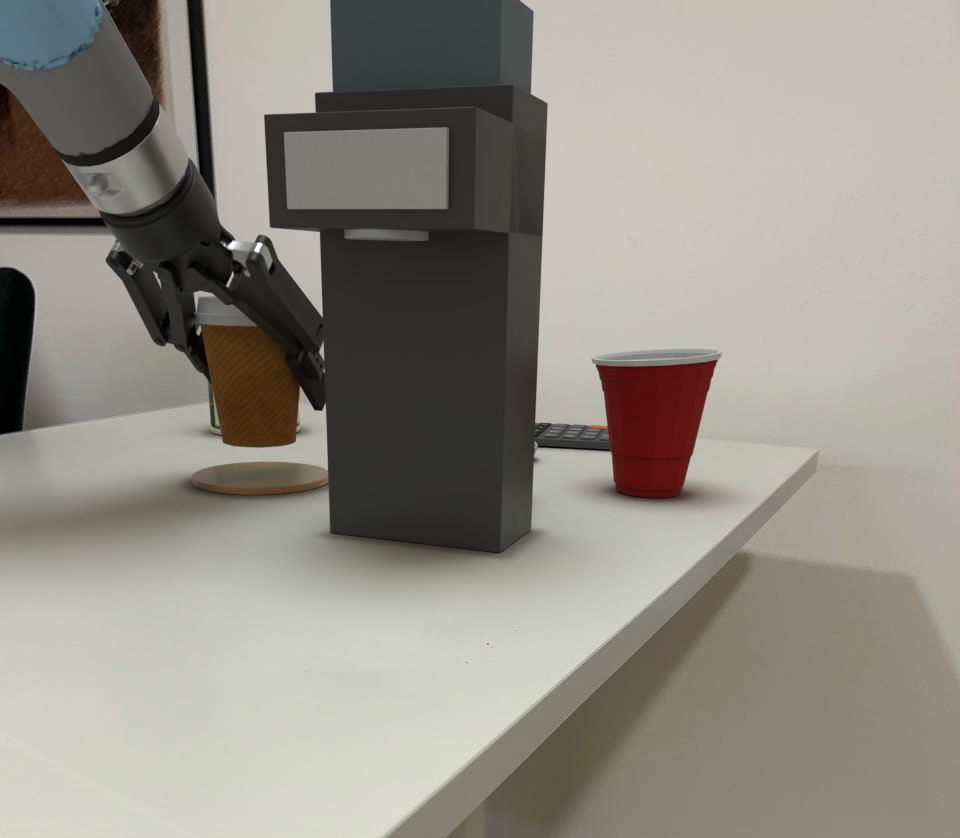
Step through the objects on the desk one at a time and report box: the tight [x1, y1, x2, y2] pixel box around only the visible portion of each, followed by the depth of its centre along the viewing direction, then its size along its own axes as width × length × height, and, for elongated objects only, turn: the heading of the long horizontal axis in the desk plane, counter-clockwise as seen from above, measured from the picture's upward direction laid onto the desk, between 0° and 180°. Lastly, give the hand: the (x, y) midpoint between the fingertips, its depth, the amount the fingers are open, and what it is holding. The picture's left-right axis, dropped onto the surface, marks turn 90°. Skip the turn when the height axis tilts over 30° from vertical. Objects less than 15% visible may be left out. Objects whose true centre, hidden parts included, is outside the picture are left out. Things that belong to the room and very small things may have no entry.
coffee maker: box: [263, 0, 549, 553], centre depth 63 cm, size 13×13×33 cm
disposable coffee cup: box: [194, 295, 301, 449], centre depth 84 cm, size 10×10×12 cm
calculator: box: [535, 422, 610, 450], centre depth 112 cm, size 12×1×15 cm
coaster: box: [191, 461, 329, 496], centre depth 87 cm, size 12×12×1 cm
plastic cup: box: [590, 348, 723, 499], centre depth 84 cm, size 11×11×12 cm
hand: (277, 395), depth 88 cm, fingers closed on disposable coffee cup, 8 cm apart
